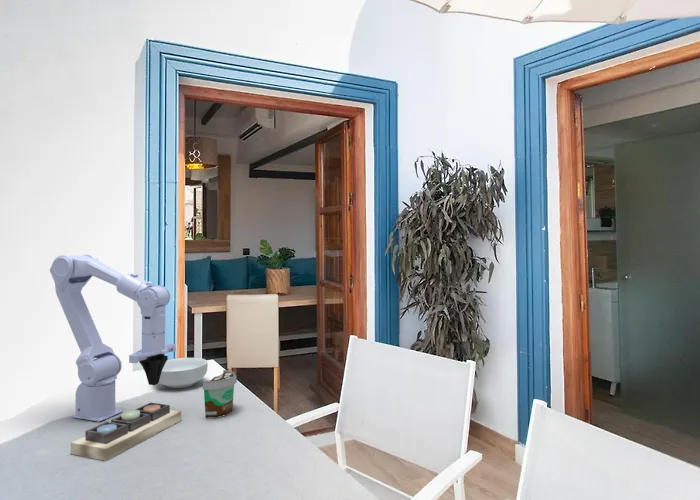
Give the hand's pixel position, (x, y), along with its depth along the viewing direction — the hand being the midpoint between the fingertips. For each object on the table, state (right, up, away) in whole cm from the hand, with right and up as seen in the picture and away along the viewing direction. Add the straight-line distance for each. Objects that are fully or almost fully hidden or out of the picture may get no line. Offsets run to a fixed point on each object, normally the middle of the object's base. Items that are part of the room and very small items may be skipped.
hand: (153, 384), depth 122 cm
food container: (+17, -10, +6) cm, 20 cm away
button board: (-1, -10, -10) cm, 14 cm away
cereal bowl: (-4, -9, +31) cm, 33 cm away
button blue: (-3, -7, -17) cm, 18 cm away
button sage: (-1, -6, -10) cm, 12 cm away
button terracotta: (+1, -7, -3) cm, 8 cm away
